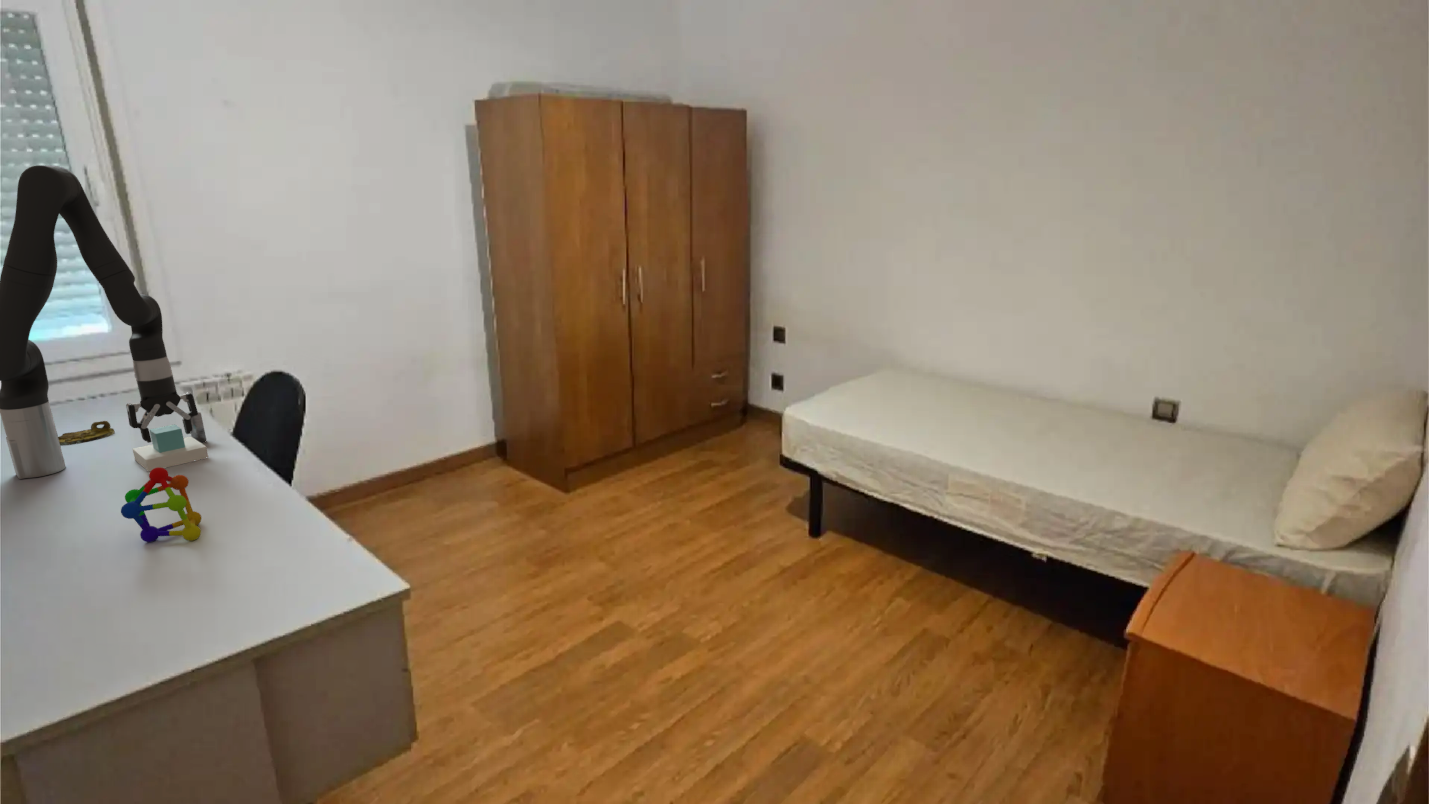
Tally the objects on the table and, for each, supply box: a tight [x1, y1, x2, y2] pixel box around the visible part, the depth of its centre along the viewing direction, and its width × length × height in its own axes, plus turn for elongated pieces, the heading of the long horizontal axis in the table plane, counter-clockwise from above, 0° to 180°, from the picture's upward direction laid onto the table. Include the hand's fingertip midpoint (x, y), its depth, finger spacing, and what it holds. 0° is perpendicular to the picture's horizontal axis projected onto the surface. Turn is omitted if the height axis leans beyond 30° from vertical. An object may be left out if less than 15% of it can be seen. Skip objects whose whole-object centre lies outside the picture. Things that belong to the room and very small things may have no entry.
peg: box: [190, 412, 207, 444], centre depth 212 cm, size 3×3×8 cm
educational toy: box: [120, 467, 203, 543], centre depth 153 cm, size 16×13×15 cm
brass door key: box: [58, 420, 116, 446], centre depth 218 cm, size 9×5×15 cm
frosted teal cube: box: [148, 424, 185, 453], centre depth 199 cm, size 6×6×5 cm
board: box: [132, 436, 209, 473], centre depth 200 cm, size 13×13×3 cm
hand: (169, 437), depth 199 cm, fingers open, 8 cm apart
